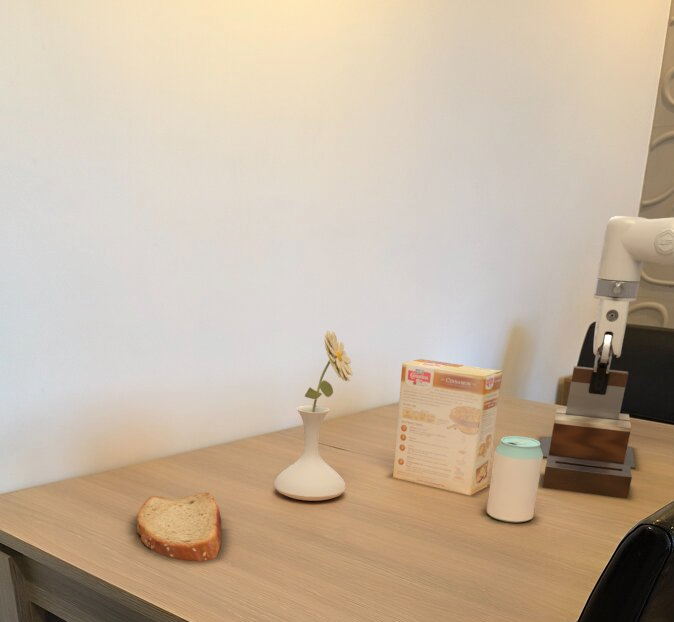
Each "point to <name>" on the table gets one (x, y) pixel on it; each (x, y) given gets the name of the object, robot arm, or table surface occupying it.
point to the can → (515, 479)
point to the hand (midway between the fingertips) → (597, 391)
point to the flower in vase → (316, 439)
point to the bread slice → (181, 527)
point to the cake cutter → (596, 395)
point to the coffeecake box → (446, 425)
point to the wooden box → (589, 439)
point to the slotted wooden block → (587, 477)
